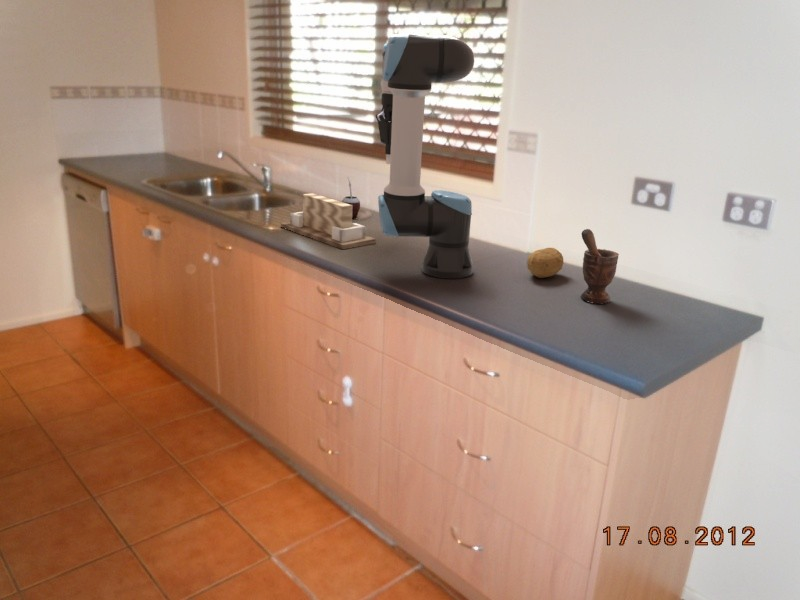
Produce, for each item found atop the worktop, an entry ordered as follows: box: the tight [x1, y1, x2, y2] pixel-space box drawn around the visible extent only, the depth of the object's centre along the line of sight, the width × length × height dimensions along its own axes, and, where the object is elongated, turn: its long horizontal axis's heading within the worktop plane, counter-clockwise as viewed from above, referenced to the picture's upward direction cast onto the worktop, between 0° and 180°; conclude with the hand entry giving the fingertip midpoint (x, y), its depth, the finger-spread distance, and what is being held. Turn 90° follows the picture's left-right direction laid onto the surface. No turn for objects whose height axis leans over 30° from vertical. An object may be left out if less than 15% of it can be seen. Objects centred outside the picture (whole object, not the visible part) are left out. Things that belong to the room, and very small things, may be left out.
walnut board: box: [280, 221, 377, 250], centre depth 232 cm, size 36×14×2 cm, turn 43°
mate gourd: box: [341, 176, 361, 218], centre depth 257 cm, size 8×8×15 cm
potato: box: [526, 247, 564, 279], centre depth 195 cm, size 10×14×8 cm
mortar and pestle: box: [580, 228, 619, 304], centre depth 173 cm, size 12×9×20 cm
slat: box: [302, 192, 353, 235], centre depth 229 cm, size 24×4×11 cm, turn 40°
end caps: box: [289, 211, 367, 242], centre depth 231 cm, size 30×10×4 cm, turn 43°
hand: (390, 163), depth 231 cm, fingers closed
